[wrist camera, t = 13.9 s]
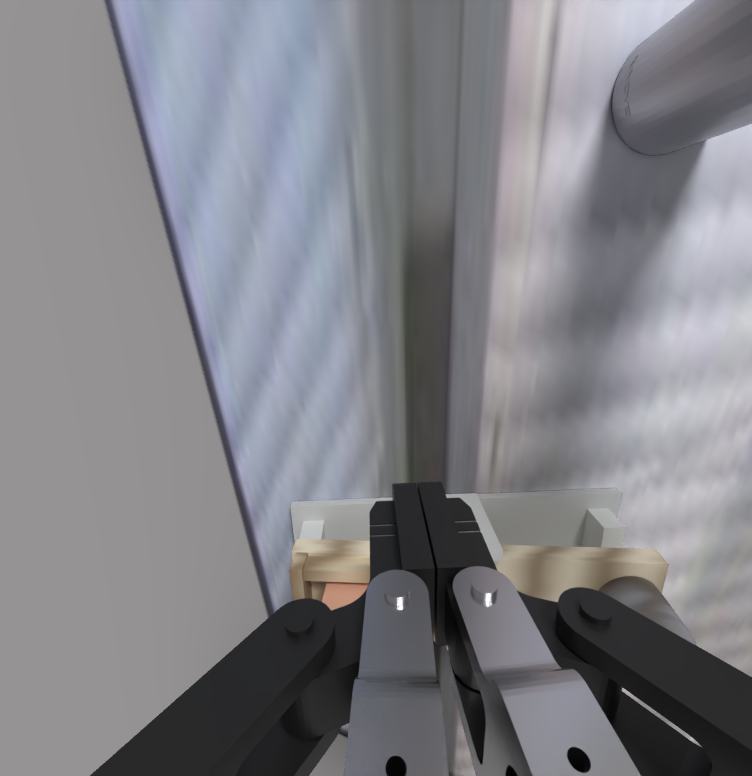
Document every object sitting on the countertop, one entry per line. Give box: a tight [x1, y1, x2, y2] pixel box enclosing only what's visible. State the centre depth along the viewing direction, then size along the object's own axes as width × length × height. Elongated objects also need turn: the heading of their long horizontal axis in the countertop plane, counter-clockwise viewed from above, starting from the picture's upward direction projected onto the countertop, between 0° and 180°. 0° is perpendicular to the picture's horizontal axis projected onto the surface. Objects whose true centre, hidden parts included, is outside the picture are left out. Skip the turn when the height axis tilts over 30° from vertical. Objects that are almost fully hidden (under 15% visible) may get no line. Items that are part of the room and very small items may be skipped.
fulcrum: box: [290, 488, 626, 650], centre depth 43 cm, size 38×12×10 cm, turn 92°
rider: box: [322, 582, 369, 610], centre depth 38 cm, size 6×5×5 cm
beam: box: [289, 539, 696, 645], centre depth 38 cm, size 36×9×7 cm, turn 92°
